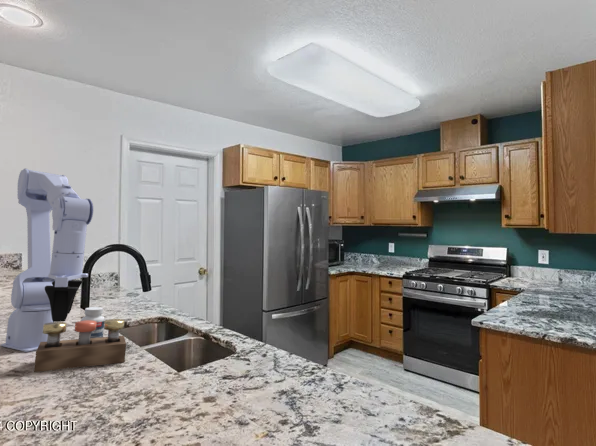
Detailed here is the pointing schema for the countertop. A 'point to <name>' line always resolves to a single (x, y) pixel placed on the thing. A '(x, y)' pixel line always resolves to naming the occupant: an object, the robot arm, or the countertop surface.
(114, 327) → the right brass button
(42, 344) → the block
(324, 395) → the countertop surface
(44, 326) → the left brass button
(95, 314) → the pill bottle
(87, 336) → the red knob
